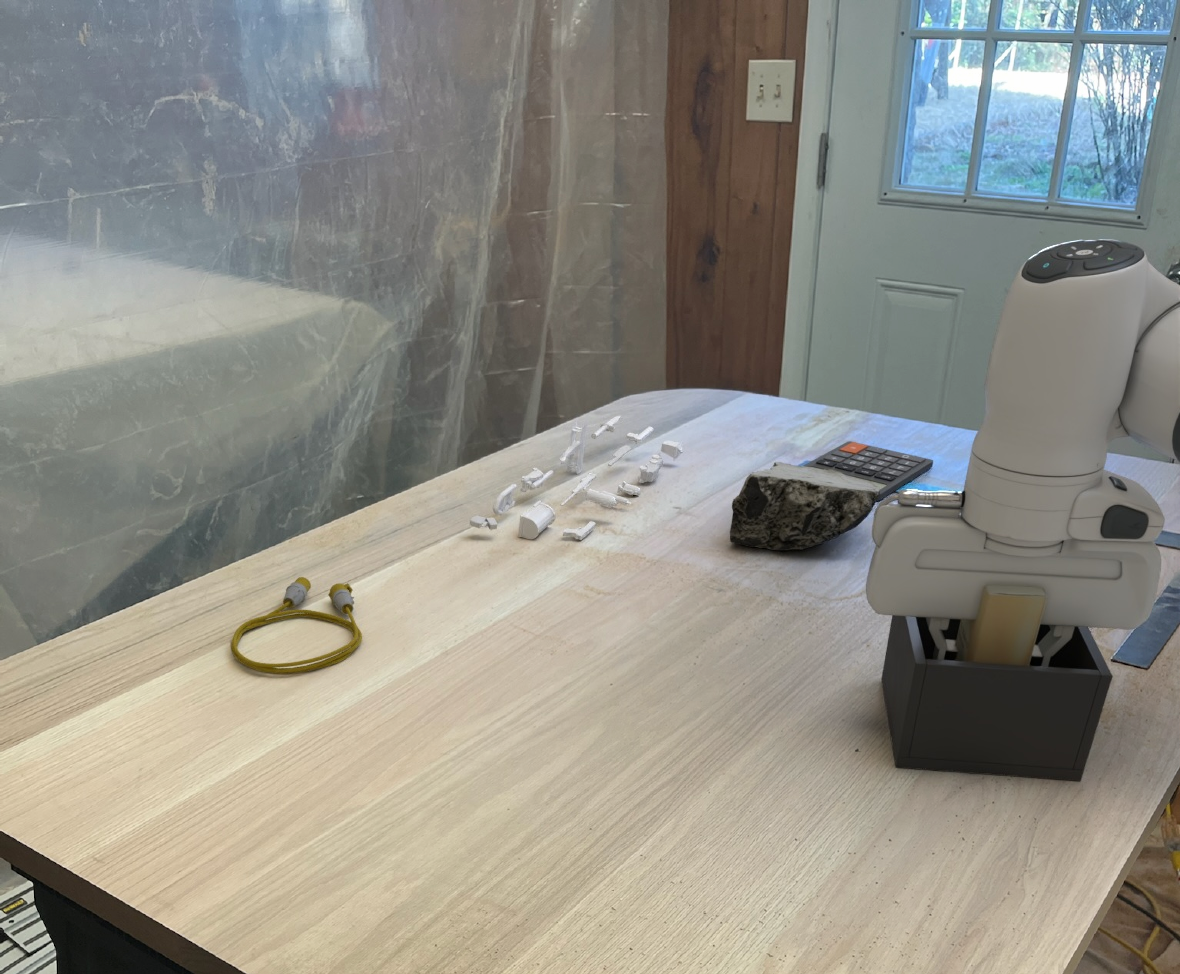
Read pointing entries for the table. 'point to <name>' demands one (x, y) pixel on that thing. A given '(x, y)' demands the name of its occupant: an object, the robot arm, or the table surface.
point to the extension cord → (291, 599)
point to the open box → (992, 706)
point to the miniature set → (545, 515)
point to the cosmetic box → (1003, 626)
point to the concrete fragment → (798, 507)
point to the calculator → (873, 465)
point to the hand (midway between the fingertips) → (988, 667)
